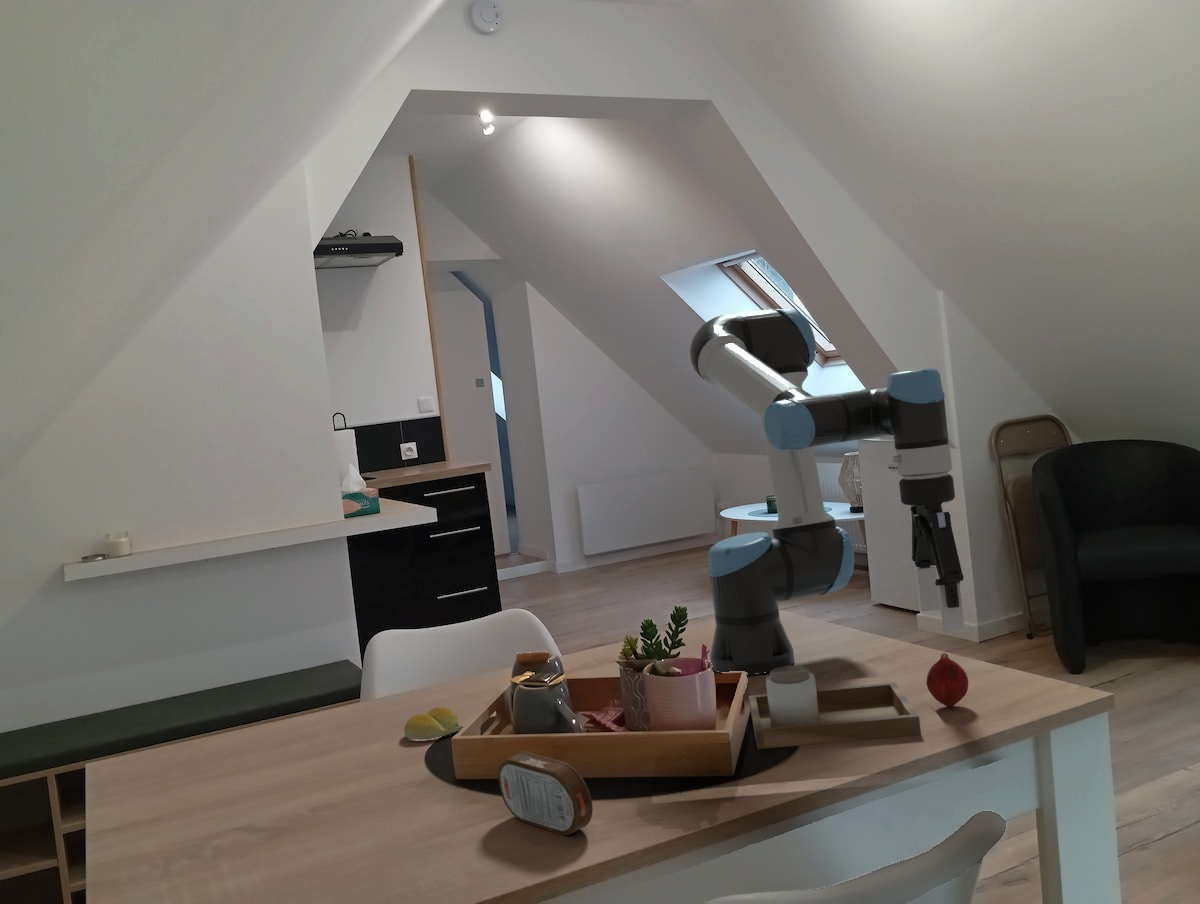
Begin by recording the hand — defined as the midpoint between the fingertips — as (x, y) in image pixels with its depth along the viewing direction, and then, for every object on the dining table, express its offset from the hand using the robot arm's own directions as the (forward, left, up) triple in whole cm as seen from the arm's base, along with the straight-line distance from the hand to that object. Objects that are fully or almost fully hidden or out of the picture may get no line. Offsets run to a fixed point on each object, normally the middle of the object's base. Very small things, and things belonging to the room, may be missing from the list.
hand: (942, 619), depth 146 cm
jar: (+5, -23, -12) cm, 27 cm away
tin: (+30, -56, -13) cm, 65 cm away
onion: (0, 0, -13) cm, 13 cm away
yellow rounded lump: (-10, -81, -14) cm, 83 cm away
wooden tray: (+5, -18, -13) cm, 23 cm away
